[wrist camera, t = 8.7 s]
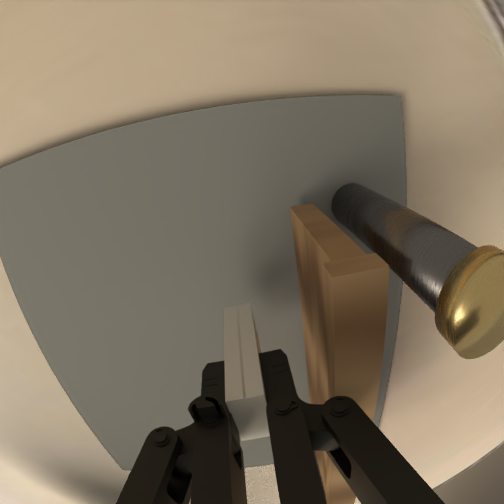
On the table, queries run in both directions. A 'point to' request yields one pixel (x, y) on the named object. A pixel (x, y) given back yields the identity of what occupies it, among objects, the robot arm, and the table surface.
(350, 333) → the gate
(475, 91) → the table surface
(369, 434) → the robot arm
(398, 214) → the post
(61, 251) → the slate mat
